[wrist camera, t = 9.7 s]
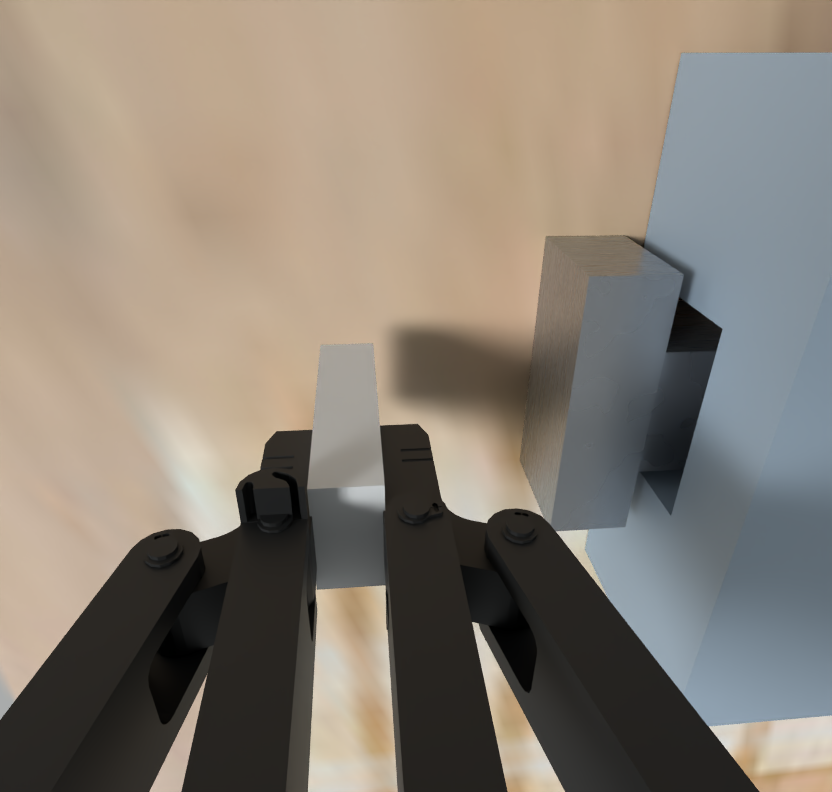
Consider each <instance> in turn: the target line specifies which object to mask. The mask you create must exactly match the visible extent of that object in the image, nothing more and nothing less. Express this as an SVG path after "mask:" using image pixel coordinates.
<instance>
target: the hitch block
mask: <svg viewBox="0 0 832 792" xmlns="http://www.w3.org/2000/svg"><path fill="white" fill-rule="evenodd" d="M644 249H646V250H647V251H649V252H650V253H652V254H653V255H655V256H656V257H658V258H659V259H661V260H662V261H664V262H666V263H667V264H669V265H670V266H672V267H673V268H675V269H676V270H678V271H679V272H681V273H682V274H684V277H683V281H682V285H681V290H680V294H679V297H680V298H681V299H683V300H684V301H685V302H687V303H688V304H689V305H691V306H692V307H693V308H695V309H696V310H698V311H699V312H700V313H702V314H703V315H704V316H706V317H707V318H708V319H710V320H711V321H713V322H714V323H715V324H717V325H718V326H719V327H721V328H722V329H723V330H722V333H721V337H720V341H719V344H718V348H717V351H716V355H715V359H714V362H713V366H712V370H711V373H710V377H709V380H708V384H707V388H706V391H705V395H704V399H703V402H702V406H701V410H700V413H699V417H698V420H697V424H696V428H695V431H694V435H693V439H692V442H691V446H690V449H689V453H688V457H687V460H686V464H685V468H684V470H664V471H643V472H638V475H637V479H636V483H635V488H634V492H633V496H632V501H631V505H630V509H629V514H628V518H627V522H626V527H620V528H603V529H589V532H588V537H587V542H586V547H585V550H586V553H587V555H588V557H589V559H590V561H591V563H592V565H593V567H594V569H595V571H596V574H597V576H598V578H599V580H600V582H601V584H602V586H603V588H604V590H605V592H606V595H607V597H608V599H609V600H610V602H611V603H612V604H613V605H614V607H615V608H616V609H617V610H618V612H619V613H620V614H621V616H622V617H623V618H624V619H625V621H626V622H627V623H628V625H629V626H630V627H631V628H632V630H633V631H634V632H635V633H636V635H637V636H638V637H639V639H640V640H641V641H642V642H643V644H644V645H645V646H646V648H647V649H648V650H649V651H650V653H651V654H652V655H653V656H654V658H655V659H656V660H657V662H658V663H659V664H660V665H661V667H662V668H663V669H664V671H665V672H666V673H667V674H668V676H669V677H670V678H671V679H672V681H673V682H674V683H675V685H676V686H677V687H678V688H679V690H680V691H681V692H682V693H683V695H684V696H685V697H686V699H687V700H688V701H689V702H690V704H691V705H692V706H693V708H694V709H695V710H696V711H697V713H698V714H699V715H700V716H701V718H702V719H703V720H704V722H705V723H706V724H707V725H708V726H718V725H729V724H740V723H751V722H762V721H774V720H785V719H796V718H807V717H819V716H830V715H832V53H681V58H680V63H679V68H678V73H677V78H676V84H675V89H674V94H673V99H672V104H671V109H670V114H669V120H668V125H667V130H666V135H665V140H664V145H663V151H662V156H661V161H660V166H659V171H658V176H657V181H656V187H655V192H654V197H653V202H652V207H651V212H650V217H649V223H648V228H647V233H646V238H645V243H644Z"/></svg>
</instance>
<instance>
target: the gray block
mask: <svg viewBox="0 0 832 792" xmlns="http://www.w3.org/2000/svg"><path fill="white" fill-rule="evenodd" d="M683 277H684V274H682V273H681V272H679V271H678V270H676V269H675V268H673V267H672V266H670V265H669V264H667V263H666V262H664V261H662V260H661V259H659V258H658V257H656V256H655V255H653V254H652V253H650V252H649V251H647V250H646V249H644V248H643V247H641V246H640V245H638V244H637V243H635V242H634V241H632V240H631V239H629V238H627V237H626V236H624V235H610V236H546V239H545V247H544V256H543V264H542V273H541V282H540V290H539V299H538V308H537V316H536V325H535V334H534V342H533V351H532V360H531V368H530V377H529V386H528V394H527V403H526V412H525V420H524V429H523V437H522V446H521V455H520V462H521V465H522V467H523V469H524V472H525V474H526V476H527V479H528V481H529V484H530V486H531V488H532V491H533V493H534V495H535V498H536V500H537V503H538V505H539V507H540V510H541V512H542V514H543V517H544V519H545V520H546V521H547V522H548V523H549V524H550V525H551V526H552V527H553V529H554V530H555V531H568V530H585V529H603V528H620V527H626V522H627V518H628V514H629V509H630V505H631V501H632V496H633V492H634V488H635V483H636V479H637V475H638V472H643V471H664V470H684V468H685V464H686V460H687V457H688V453H689V449H690V446H691V442H692V439H693V435H694V431H695V428H696V424H697V420H698V417H699V413H700V410H701V406H702V402H703V399H704V395H705V391H706V388H707V384H708V380H709V377H710V373H711V370H712V366H713V362H714V359H715V355H716V351H717V348H718V344H719V341H720V337H721V333H722V330H723V329H722V328H721V327H719V326H718V325H717V324H715V323H714V322H713V321H711V320H710V319H708V318H707V317H706V316H704V315H703V314H702V313H700V312H699V311H698V310H696V309H695V308H693V307H692V306H691V305H689V304H688V303H687V302H685V301H678V298H679V294H680V290H681V285H682V281H683Z"/></svg>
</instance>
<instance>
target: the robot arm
mask: <svg viewBox="0 0 832 792" xmlns="http://www.w3.org/2000/svg"><path fill="white" fill-rule="evenodd" d="M235 491H236V497H237V503H238V508H239V514H240V520H241V525H240V526H239V527H238V528H237V529H235V530H233V531H231V532H229V533H227V534H225V535H222V536H219V537H216V538H213V539H209V540H206V541H202V542H200V541H199V538H198V537H196V536H195V535H194V534H193V533H192V532H189V531H185V530H182V529H171V530H164V531H160V532H157V533H153V534H151V535H150V536H148V537H146V538H144V539H142V540H140V541H139V542H138V543H137V544H136V545H135V546H134V547H133V548H132V549H131V550H130V551H129V553H128V554H127V555H126V557H125V558H124V559H123V561H122V562H121V563H120V564H119V566H118V567H117V568H116V570H115V571H114V572H113V574H112V575H111V576H110V578H109V579H108V580H107V581H106V583H105V584H104V585H103V587H102V588H101V589H100V591H99V592H98V593H97V595H96V596H95V597H94V598H93V600H92V601H91V602H90V604H89V605H88V606H87V608H86V609H85V610H84V611H83V613H82V614H81V615H80V617H79V618H78V619H77V621H76V622H75V623H74V625H73V626H72V627H71V628H70V630H69V631H68V632H67V634H66V635H65V636H64V638H63V639H62V640H61V641H60V643H59V644H58V645H57V647H56V648H55V649H54V651H53V652H52V653H51V655H50V656H49V657H48V658H47V660H46V661H45V662H44V664H43V665H42V666H41V668H40V669H39V670H38V671H37V673H36V674H35V675H34V677H33V678H32V679H31V681H30V682H29V683H28V685H27V686H26V687H25V688H24V690H23V691H22V692H21V694H20V695H19V696H18V698H17V699H16V700H15V701H14V703H13V704H12V705H11V707H10V708H9V710H8V711H7V712H6V713H5V715H4V716H3V717H2V719H1V720H0V792H149V791H150V789H151V787H152V785H153V783H154V781H155V779H156V777H157V775H158V773H159V771H160V769H161V767H162V765H163V763H164V761H165V759H166V756H167V754H168V752H169V750H170V748H171V746H172V744H173V742H174V740H175V738H176V736H177V734H178V732H179V730H180V728H181V726H182V724H183V722H184V720H185V718H186V716H187V714H188V712H189V710H190V708H191V706H192V704H193V702H194V700H195V698H196V696H197V694H198V692H199V690H200V688H201V686H202V684H203V681H204V679H205V677H206V675H207V679H206V683H205V688H204V692H203V697H202V701H201V706H200V711H199V715H198V720H197V724H196V729H195V733H194V738H193V742H192V747H191V751H190V756H189V760H188V765H187V769H186V774H185V778H184V783H183V787H182V792H308V775H309V756H310V737H311V718H312V699H313V680H314V661H315V642H316V623H317V603H316V593H315V592H316V584H317V590H318V589H333V588H349V587H364V586H379V585H386V624H387V630H388V643H389V659H390V675H391V691H392V707H393V723H394V738H395V754H396V770H397V786H398V792H507V787H506V783H505V778H504V773H503V768H502V764H501V759H500V754H499V749H498V744H497V740H496V735H495V730H494V725H493V721H492V716H491V711H490V706H489V701H488V697H487V692H486V687H485V682H484V678H483V673H482V668H481V663H480V658H479V654H478V649H477V644H476V639H475V635H474V630H473V625H472V622H475V623H479V626H480V630H481V632H482V634H483V636H484V638H485V640H486V641H487V643H488V645H489V647H490V649H491V651H492V653H493V655H494V657H495V659H496V661H497V662H498V664H499V666H500V668H501V670H502V672H503V674H504V676H505V678H506V680H507V682H508V683H509V685H510V687H511V689H512V691H513V693H514V695H515V697H516V699H517V701H518V703H519V704H520V706H521V708H522V710H523V712H524V714H525V716H526V718H527V720H528V722H529V723H530V725H531V727H532V729H533V731H534V733H535V735H536V737H537V739H538V741H539V743H540V744H541V746H542V748H543V750H544V752H545V754H546V756H547V758H548V760H549V762H550V764H551V765H552V767H553V769H554V771H555V773H556V775H557V777H558V779H559V781H560V783H561V785H562V786H563V788H564V790H565V792H759V791H758V789H757V788H756V787H755V785H754V784H753V783H752V782H751V780H750V779H749V778H748V777H747V775H746V774H745V773H744V771H743V770H742V769H741V768H740V766H739V765H738V764H737V762H736V761H735V760H734V759H733V757H732V756H731V755H730V754H729V752H728V751H727V750H726V748H725V747H724V746H723V745H722V743H721V742H720V741H719V739H718V738H717V737H716V736H715V734H714V733H713V732H712V731H711V729H710V728H709V727H708V725H707V724H706V723H705V722H704V720H703V719H702V718H701V716H700V715H699V714H698V713H697V711H696V710H695V709H694V708H693V706H692V705H691V704H690V702H689V701H688V700H687V699H686V697H685V696H684V695H683V693H682V692H681V691H680V690H679V688H678V687H677V686H676V685H675V683H674V682H673V681H672V679H671V678H670V677H669V676H668V674H667V673H666V672H665V671H664V669H663V668H662V667H661V665H660V664H659V663H658V662H657V660H656V659H655V658H654V656H653V655H652V654H651V653H650V651H649V650H648V649H647V648H646V646H645V645H644V644H643V642H642V641H641V640H640V639H639V637H638V636H637V635H636V633H635V632H634V631H633V630H632V628H631V627H630V626H629V625H628V623H627V622H626V621H625V619H624V618H623V617H622V616H621V614H620V613H619V612H618V610H617V609H616V608H615V607H614V605H613V604H612V603H611V602H610V600H609V599H608V598H607V596H606V595H605V594H604V593H603V591H602V590H601V589H600V587H599V586H598V585H597V584H596V582H595V581H594V580H593V579H592V577H591V576H590V575H589V573H588V572H587V571H586V570H585V568H584V567H583V566H582V565H581V563H580V562H579V561H578V559H577V558H576V557H575V556H574V554H573V553H572V552H571V550H570V549H569V548H568V547H567V545H566V544H565V543H564V542H563V540H562V539H561V538H560V536H559V535H558V534H557V533H556V531H555V530H554V529H553V527H552V526H551V525H550V524H549V523H548V522H547V521H546V520H545V519H544V518H543V517H542V516H540V515H538V514H536V513H533V512H531V511H528V510H523V509H505V510H502V511H500V512H497V513H495V514H494V515H493V516H492V517H491V518H490V519H489V520H488V523H482V522H476V521H471V520H468V519H464V518H461V517H459V516H457V515H455V514H454V513H452V512H451V511H450V510H448V509H447V507H446V505H445V503H444V502H443V501H442V499H441V495H440V490H439V485H438V480H437V476H436V471H435V466H434V461H433V456H432V451H431V446H430V441H429V436H428V434H427V433H426V432H425V431H424V430H423V429H422V428H421V427H420V426H419V425H418V424H407V425H383V426H380V422H379V410H378V397H377V385H376V373H375V360H374V348H373V343H367V344H334V345H321V346H320V357H319V367H318V378H317V389H316V399H315V410H314V421H313V430H299V431H276V433H275V434H274V435H273V436H272V437H271V438H270V439H269V440H268V441H267V443H266V444H265V449H264V454H263V460H262V463H261V470H259V471H257V472H254V473H252V474H250V475H248V476H247V477H245V478H244V479H243V480H242V481H240V483H239V484H238V486H237V488H236V490H235ZM207 673H208V674H207Z"/></svg>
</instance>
